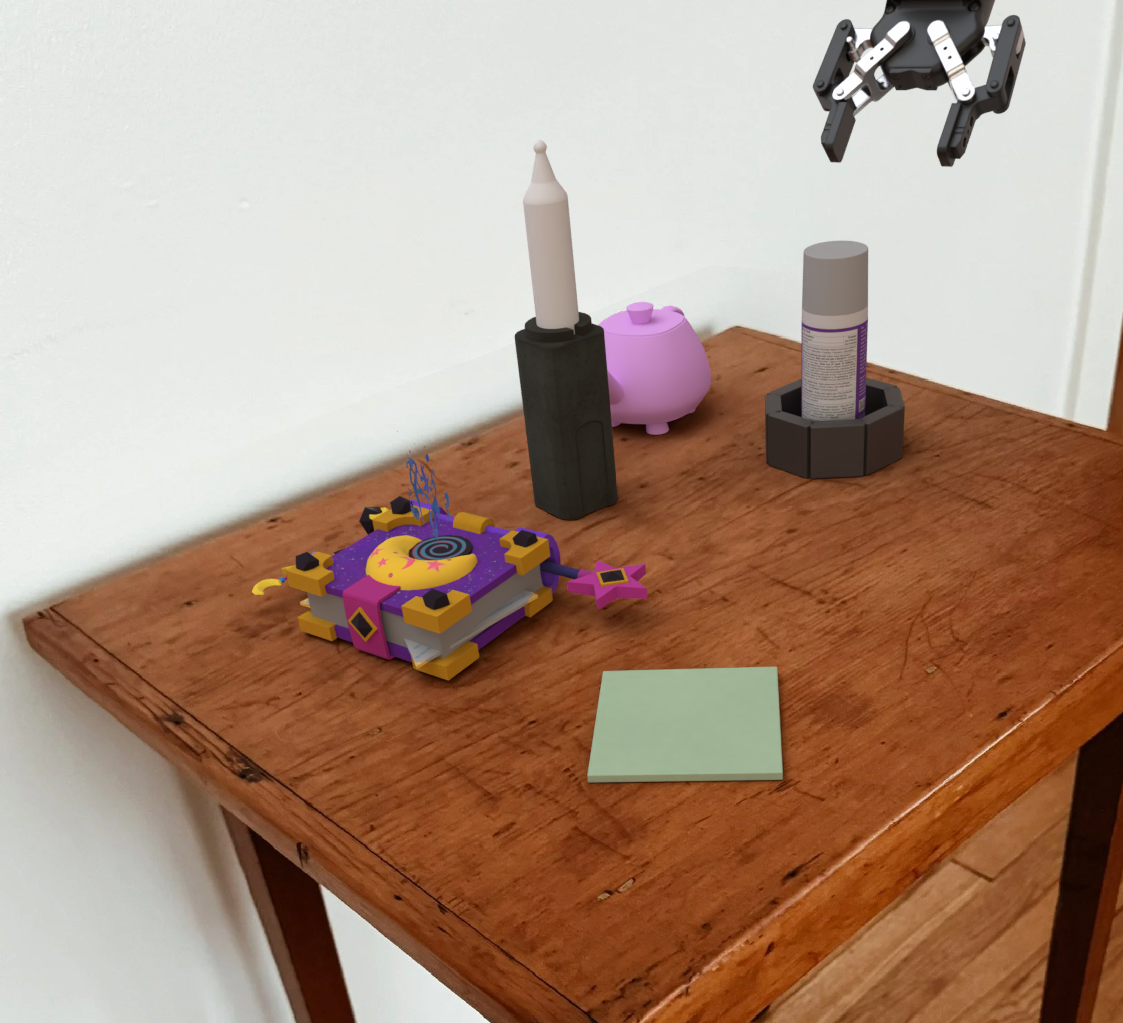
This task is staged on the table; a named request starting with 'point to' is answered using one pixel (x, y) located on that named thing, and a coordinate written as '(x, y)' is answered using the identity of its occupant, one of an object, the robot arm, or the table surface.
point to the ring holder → (834, 434)
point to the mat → (687, 726)
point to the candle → (562, 366)
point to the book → (438, 583)
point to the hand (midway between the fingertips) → (886, 158)
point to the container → (834, 331)
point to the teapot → (653, 366)
